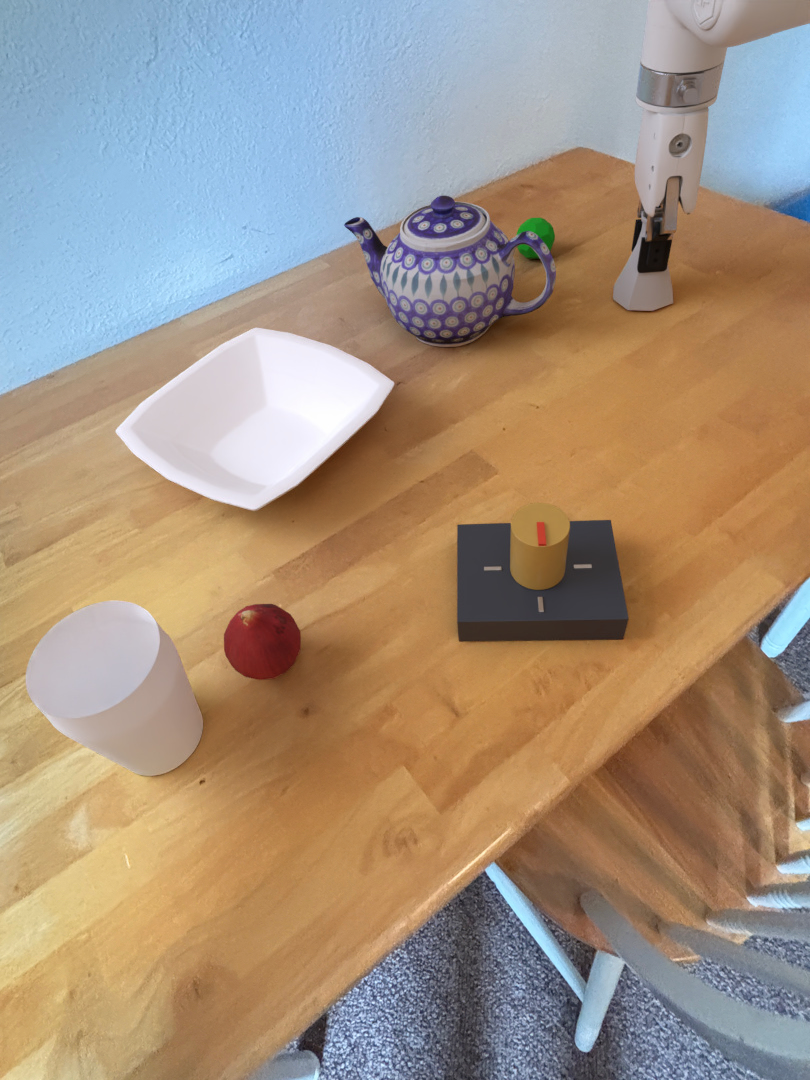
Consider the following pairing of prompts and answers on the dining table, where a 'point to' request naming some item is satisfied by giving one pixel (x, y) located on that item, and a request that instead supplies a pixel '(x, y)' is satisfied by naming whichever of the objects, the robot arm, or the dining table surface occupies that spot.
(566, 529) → the yellow dial knob
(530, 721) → the dining table surface
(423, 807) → the dining table surface
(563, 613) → the panel
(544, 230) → the polyhedron
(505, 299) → the teapot
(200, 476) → the bowl
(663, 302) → the flask
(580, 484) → the dining table surface
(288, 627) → the onion
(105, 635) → the cup
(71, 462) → the dining table surface
